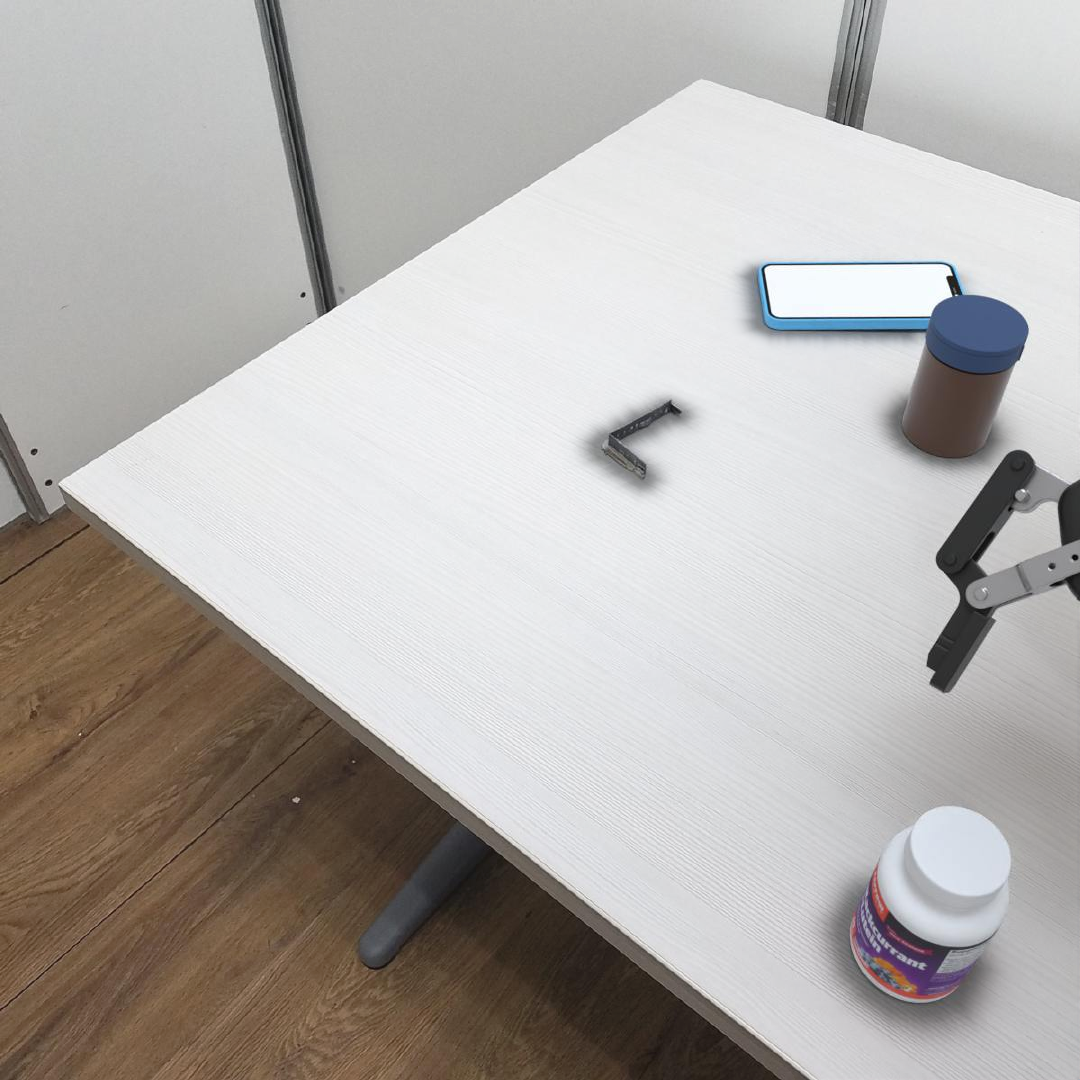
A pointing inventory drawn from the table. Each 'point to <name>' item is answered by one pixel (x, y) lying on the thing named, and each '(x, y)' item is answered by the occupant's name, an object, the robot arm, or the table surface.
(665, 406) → the bent metal strip
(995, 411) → the jar
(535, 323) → the table surface
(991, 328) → the jar lid
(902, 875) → the pill bottle
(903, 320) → the smartphone
